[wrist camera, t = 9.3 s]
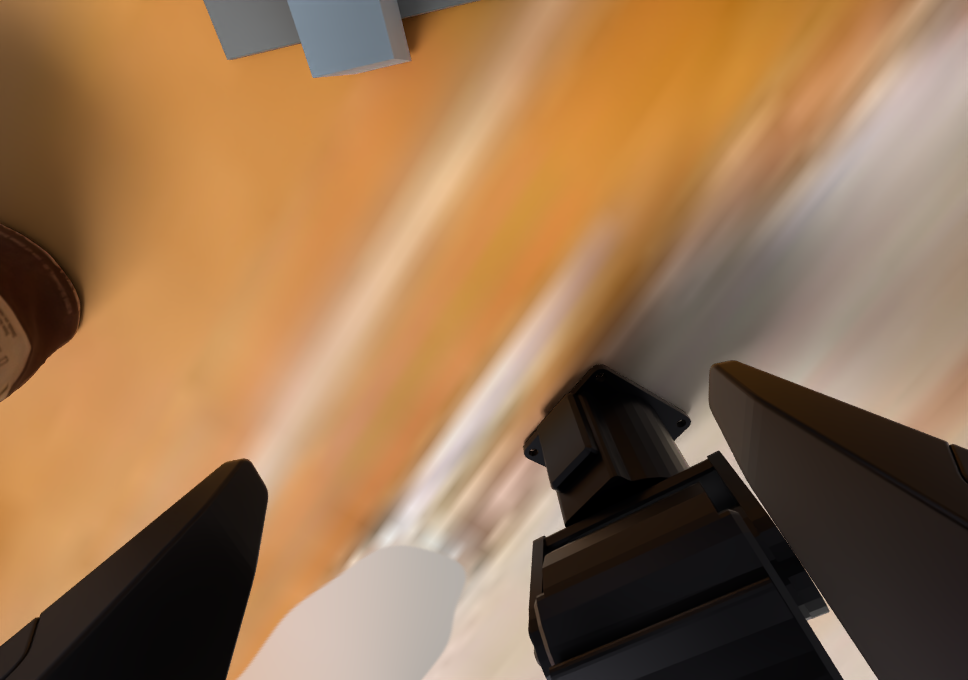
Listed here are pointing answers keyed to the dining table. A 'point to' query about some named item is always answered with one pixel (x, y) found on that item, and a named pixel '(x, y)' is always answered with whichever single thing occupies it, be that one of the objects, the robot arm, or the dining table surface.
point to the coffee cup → (31, 309)
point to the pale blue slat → (349, 35)
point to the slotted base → (280, 22)
